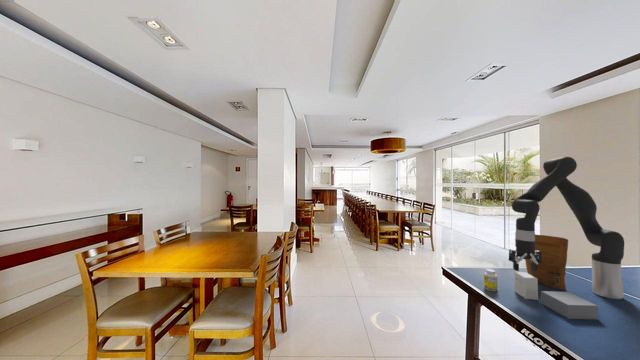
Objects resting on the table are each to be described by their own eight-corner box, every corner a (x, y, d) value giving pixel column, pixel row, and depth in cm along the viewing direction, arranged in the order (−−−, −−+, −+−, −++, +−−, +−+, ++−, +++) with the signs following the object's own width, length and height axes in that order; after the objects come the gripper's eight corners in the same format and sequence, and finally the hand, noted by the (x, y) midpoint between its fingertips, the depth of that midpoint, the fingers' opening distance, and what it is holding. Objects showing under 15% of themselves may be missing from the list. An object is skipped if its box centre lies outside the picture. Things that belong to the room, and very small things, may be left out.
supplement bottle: (484, 286, 123) (484, 267, 123) (497, 289, 120) (497, 270, 120) (484, 289, 119) (483, 270, 119) (497, 292, 115) (497, 273, 116)
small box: (538, 300, 108) (538, 278, 108) (525, 299, 109) (524, 277, 109) (526, 292, 116) (526, 272, 116) (514, 291, 117) (514, 271, 117)
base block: (567, 304, 105) (567, 291, 105) (598, 320, 93) (597, 305, 93) (541, 303, 106) (540, 291, 106) (568, 319, 94) (567, 304, 94)
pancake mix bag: (566, 293, 116) (566, 239, 116) (520, 279, 133) (520, 231, 133) (571, 290, 119) (571, 237, 119) (526, 276, 136) (525, 230, 136)
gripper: (533, 237, 117) (533, 268, 116) (504, 236, 117) (504, 267, 117) (546, 241, 109) (546, 274, 109) (516, 240, 110) (516, 273, 110)
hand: (525, 270), depth 113 cm, fingers open, 8 cm apart
